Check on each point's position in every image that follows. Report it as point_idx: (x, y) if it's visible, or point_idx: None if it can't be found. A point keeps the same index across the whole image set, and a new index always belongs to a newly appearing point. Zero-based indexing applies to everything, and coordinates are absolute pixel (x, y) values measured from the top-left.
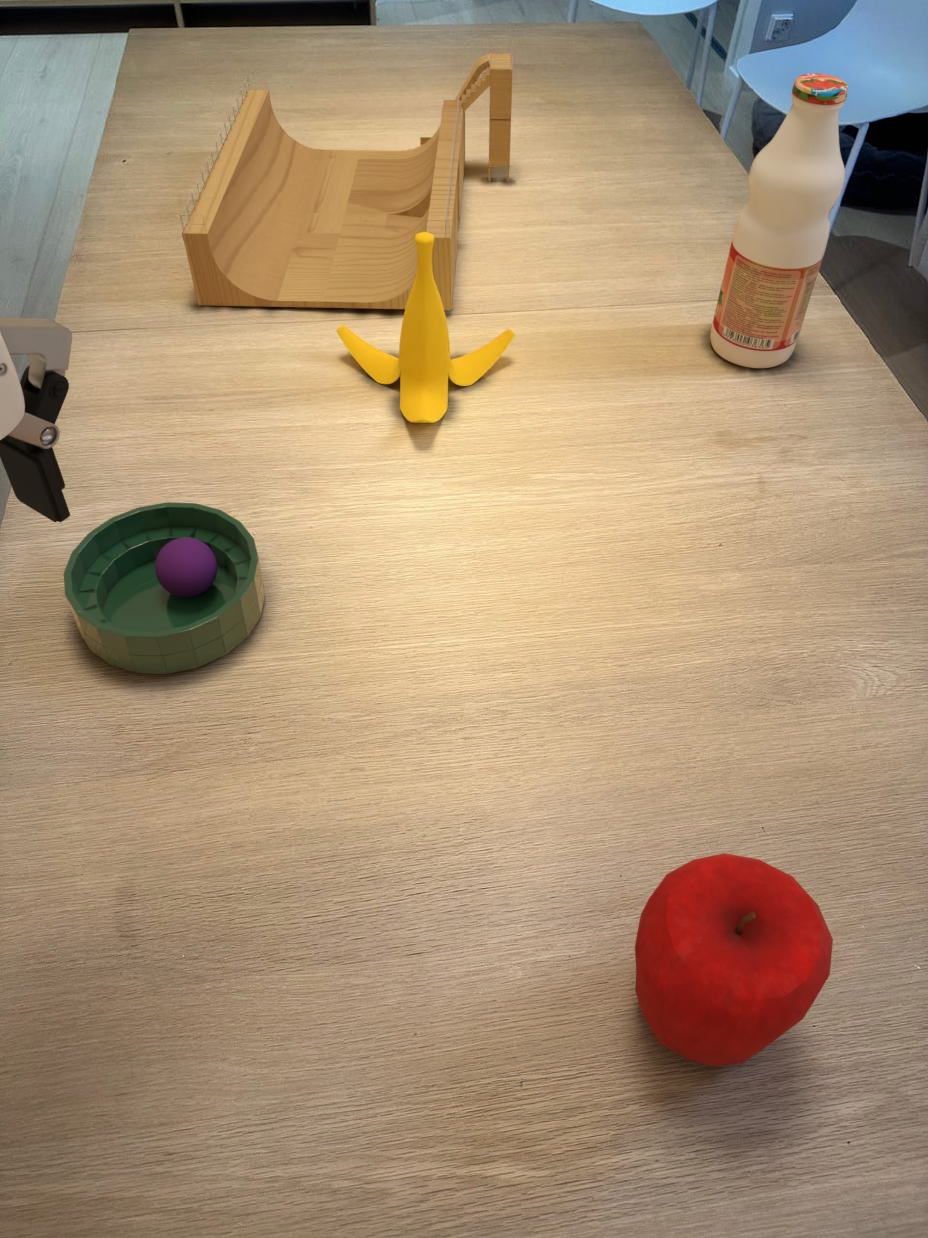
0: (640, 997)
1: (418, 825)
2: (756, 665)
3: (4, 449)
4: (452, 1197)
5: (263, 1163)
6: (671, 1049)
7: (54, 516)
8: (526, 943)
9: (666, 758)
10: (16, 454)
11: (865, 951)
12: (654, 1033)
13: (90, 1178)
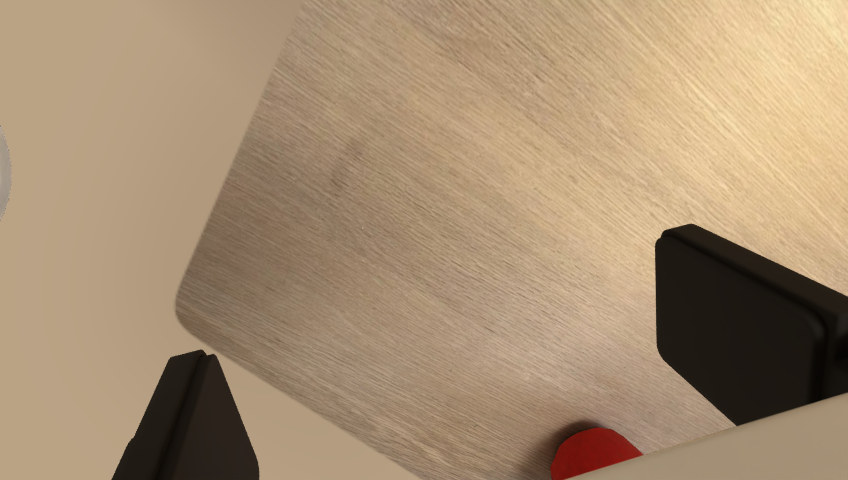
0: (565, 459)
1: (566, 253)
2: None
3: (791, 352)
4: (401, 449)
5: (325, 378)
6: (551, 474)
7: (669, 363)
8: (546, 366)
9: None
10: (793, 403)
11: None
12: (552, 463)
13: (225, 323)
